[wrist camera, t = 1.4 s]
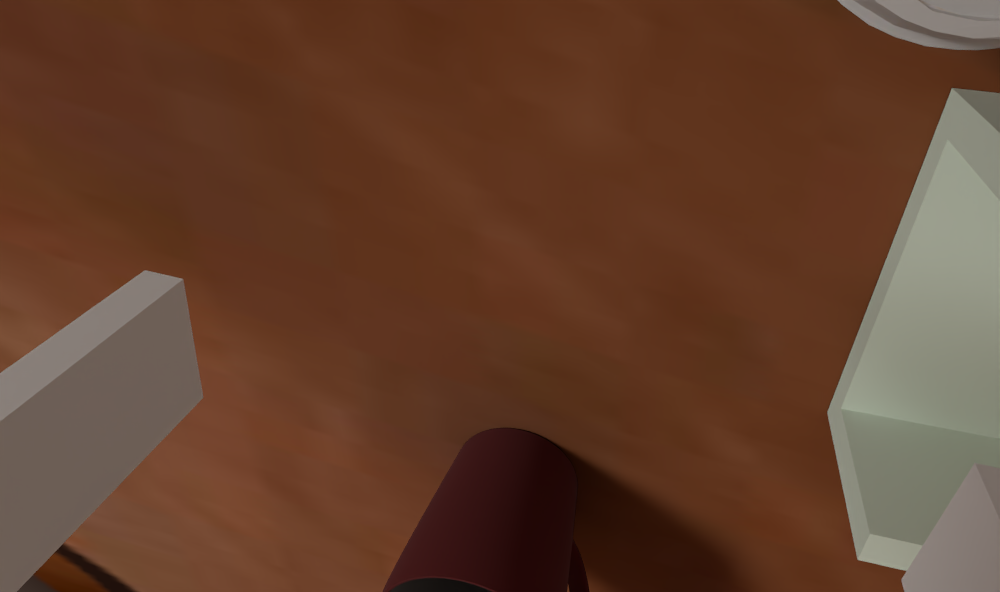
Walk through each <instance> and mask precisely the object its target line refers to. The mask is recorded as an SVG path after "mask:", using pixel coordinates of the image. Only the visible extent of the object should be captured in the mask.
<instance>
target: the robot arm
mask: <svg viewBox="0 0 1000 592" xmlns="http://www.w3.org/2000/svg"><path fill="white" fill-rule="evenodd" d="M202 398H203V393H202V387H201V381H200V376H199V370H198V364H197V358H196V352H195V346H194V340H193V334H192V328H191V323H190V317H189V311H188V305H187V299H186V293H185V287H184V281H183V279H180V278H176V277H172V276H168V275H163V274H159V273H155V272H150V271H146V270H145V271H143V272H142V273H141V274H139V275H138V276H136V277H135V278H134V279H132V280H131V281H129V282H128V283H127V284H125V285H124V286H122V287H121V288H119V289H118V290H117V291H115V292H114V293H112V294H111V295H110V296H108V297H107V298H105V299H104V300H103V301H101V302H100V303H98V304H97V305H96V306H94V307H93V308H91V309H90V310H89V311H87V312H86V313H84V314H83V315H82V316H80V317H79V318H77V319H76V320H74V321H73V322H72V323H70V324H69V325H67V326H66V327H65V328H63V329H62V330H60V331H59V332H58V333H56V334H55V335H53V336H52V337H51V338H49V339H48V340H46V341H45V342H44V343H42V344H41V345H39V346H38V347H36V348H35V349H34V350H32V351H31V352H29V353H28V354H27V355H25V356H24V357H22V358H21V359H20V360H18V361H17V362H15V363H14V364H13V365H11V366H10V367H8V368H7V369H6V370H4V371H3V372H1V373H0V592H17V591H18V590H19V589H20V588H21V587H22V586H23V585H24V583H25V582H26V581H27V580H28V579H29V578H30V577H31V576H32V575H33V574H34V573H35V572H36V571H37V570H38V569H39V568H40V567H41V566H42V565H43V564H44V563H45V562H46V561H47V560H48V558H49V557H50V556H51V555H52V554H53V553H54V552H55V551H56V550H57V549H58V548H59V547H60V546H61V545H62V544H63V543H64V542H65V541H66V540H67V539H68V538H69V537H70V536H71V535H72V534H73V532H74V531H75V530H76V529H77V528H78V527H79V526H80V525H81V524H82V523H83V522H84V521H85V520H86V519H87V518H88V517H89V516H90V515H91V514H92V513H93V512H94V511H95V510H96V509H97V508H98V506H99V505H100V504H101V503H102V502H103V501H104V500H105V499H106V498H107V497H108V496H109V495H110V494H111V493H112V492H113V491H114V490H115V489H116V488H117V487H118V486H119V485H120V484H121V483H122V482H123V480H124V479H125V478H126V477H127V476H128V475H129V474H130V473H131V472H132V471H133V470H134V469H135V468H136V467H137V466H138V465H139V464H140V463H141V462H142V461H143V460H144V459H145V458H146V457H147V456H148V454H149V453H150V452H151V451H152V450H153V449H154V448H155V447H156V446H157V445H158V444H159V443H160V442H161V441H162V440H163V439H164V438H165V437H166V436H167V435H168V434H169V433H170V432H171V431H172V430H173V428H174V427H175V426H176V425H177V424H178V423H179V422H180V421H181V420H182V419H183V418H184V417H185V416H186V415H187V414H188V413H189V412H190V411H191V410H192V409H193V408H194V407H195V406H196V405H197V404H198V402H199V401H200V400H201V399H202ZM902 584H903V588H904V592H1000V468H996V467H991V466H987V465H983V464H978V463H974V465H973V467H972V468H971V470H970V471H969V473H968V474H967V476H966V478H965V479H964V481H963V482H962V484H961V486H960V487H959V489H958V490H957V492H956V494H955V495H954V497H953V498H952V500H951V502H950V503H949V505H948V506H947V508H946V510H945V511H944V513H943V514H942V516H941V517H940V519H939V521H938V522H937V524H936V525H935V527H934V529H933V530H932V532H931V533H930V535H929V537H928V538H927V540H926V541H925V543H924V545H923V546H922V548H921V549H920V551H919V552H918V554H917V556H916V557H915V559H914V560H913V562H912V564H911V565H910V567H909V568H908V570H907V572H906V573H905V575H904V576H903V578H902Z"/></svg>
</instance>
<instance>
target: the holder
mask: <svg viewBox="0 0 1000 592" xmlns="http://www.w3.org/2000/svg"><path fill="white" fill-rule="evenodd" d="M827 414H828V418H829V423H830V428H831V433H832V438H833V443H834V448H835V452H836V457H837V462H838V467H839V472H840V477H841V482H842V486H843V491H844V496H845V501H846V506H847V511H848V516H849V521H850V525H851V530H852V535H853V540H854V545H855V550H856V555H857V559H858V560H861V561H865V562H870V563H874V564H879V565H883V566H887V567H892V568H896V569H901V570H905V571H907V570H908V568H909V567H910V565H911V564H912V562H913V560H914V559H915V557H916V556H917V554H918V552H919V551H920V549H921V548H922V546H923V545H924V543H925V541H926V540H927V538H928V537H929V535H930V533H931V532H932V530H933V529H934V527H935V525H936V524H937V522H938V521H939V519H940V517H941V516H942V514H943V513H944V511H945V510H946V508H947V506H948V505H949V503H950V502H951V500H952V498H953V497H954V495H955V494H956V492H957V490H958V489H959V487H960V486H961V484H962V482H963V481H964V479H965V478H966V476H967V474H968V473H969V471H970V470H971V468H972V467H973V465H974V463H978V464H983V465H987V466H991V467H996V468H1000V93H993V92H984V91H975V90H966V89H956V88H952V89H951V92H950V95H949V97H948V100H947V102H946V105H945V108H944V110H943V113H942V115H941V118H940V121H939V123H938V126H937V128H936V131H935V134H934V136H933V139H932V141H931V144H930V147H929V149H928V152H927V154H926V157H925V160H924V162H923V165H922V167H921V170H920V173H919V175H918V178H917V180H916V183H915V186H914V188H913V191H912V193H911V196H910V199H909V201H908V204H907V206H906V209H905V212H904V214H903V217H902V219H901V222H900V225H899V227H898V230H897V232H896V235H895V238H894V240H893V243H892V245H891V248H890V251H889V253H888V256H887V258H886V261H885V264H884V266H883V269H882V271H881V274H880V277H879V279H878V282H877V284H876V287H875V290H874V292H873V295H872V297H871V300H870V303H869V305H868V308H867V310H866V313H865V316H864V318H863V321H862V323H861V326H860V329H859V331H858V334H857V336H856V339H855V342H854V344H853V347H852V349H851V352H850V355H849V357H848V360H847V362H846V365H845V368H844V370H843V373H842V375H841V378H840V381H839V383H838V386H837V388H836V391H835V394H834V396H833V399H832V401H831V404H830V407H829V409H828V412H827Z"/></svg>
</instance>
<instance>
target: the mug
mask: <svg viewBox="0 0 1000 592" xmlns="http://www.w3.org/2000/svg"><path fill="white" fill-rule="evenodd" d="M577 488H578V482H577V476H576V473H575V470H574V468H573V466H572V464H571V462H570V461H569V459H568V458H567V457H566V456H565V454H564V453H563V452H562V451H561V450H560V449H558V448H557V447H556V446H555V445H553V444H552V443H551V442H549V441H547V440H546V439H544V438H542V437H540V436H538V435H535V434H533V433H530V432H527V431H523V430H519V429H512V428H497V429H490V430H486V431H483V432H480V433H478V434H476V435H475V436H473V437H472V438H470V439H469V440H468V441H467V442H466V443H465V444H464V446H463V447H462V449H461V450H460V452H459V454H458V455H457V457H456V459H455V460H454V462H453V464H452V466H451V467H450V469H449V471H448V472H447V474H446V476H445V478H444V479H443V481H442V483H441V485H440V486H439V488H438V490H437V492H436V493H435V495H434V497H433V499H432V500H431V502H430V504H429V506H428V507H427V509H426V511H425V513H424V514H423V516H422V518H421V520H420V522H419V523H418V525H417V527H416V529H415V530H414V532H413V534H412V536H411V538H410V540H409V541H408V543H407V545H406V547H405V549H404V551H403V552H402V554H401V556H400V558H399V560H398V562H397V564H396V565H395V567H394V569H393V571H392V573H391V575H390V577H389V579H388V581H387V583H386V585H385V588H384V590H383V592H567V587H568V585H569V591H570V592H589V586H588V581H587V576H586V572H585V568H584V565H583V561H582V558H581V555H580V553H579V550H578V548H577V546H576V544H575V542H574V540H573V531H574V521H575V511H576V501H577Z"/></svg>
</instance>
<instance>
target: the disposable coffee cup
mask: <svg viewBox="0 0 1000 592" xmlns="http://www.w3.org/2000/svg"><path fill="white" fill-rule="evenodd" d="M838 1H839V2H840V3H841V4H842V5H843V6H844V7H846V8H847V9H848V10H850V11H851V12H852V13H854V14H855V15H856V16H858V17H859V18H861V19H862V20H863V21H865V22H866V23H867V24H869V25H871V26H873V27H875V28H877V29H879V30H881V31H883V32H886V33H888V34H890V35H892V36H894V37H897V38H900V39H904V40H907V41H910V42H914V43H917V44H920V45H924V46H930V47H938V48H947V49H955V50H983V49H994V48H1000V0H838Z"/></svg>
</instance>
